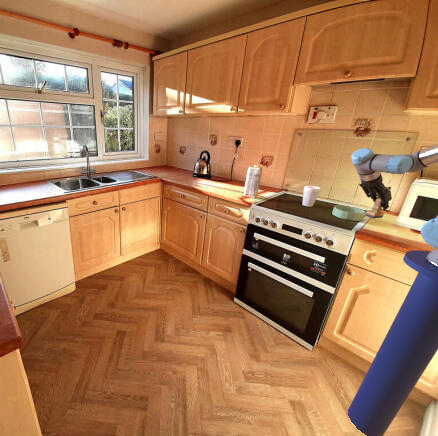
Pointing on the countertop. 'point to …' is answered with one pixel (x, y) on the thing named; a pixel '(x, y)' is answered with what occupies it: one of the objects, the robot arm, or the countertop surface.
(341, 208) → the bowl
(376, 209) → the dish brush
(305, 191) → the foam cup
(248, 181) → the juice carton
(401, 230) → the countertop surface
